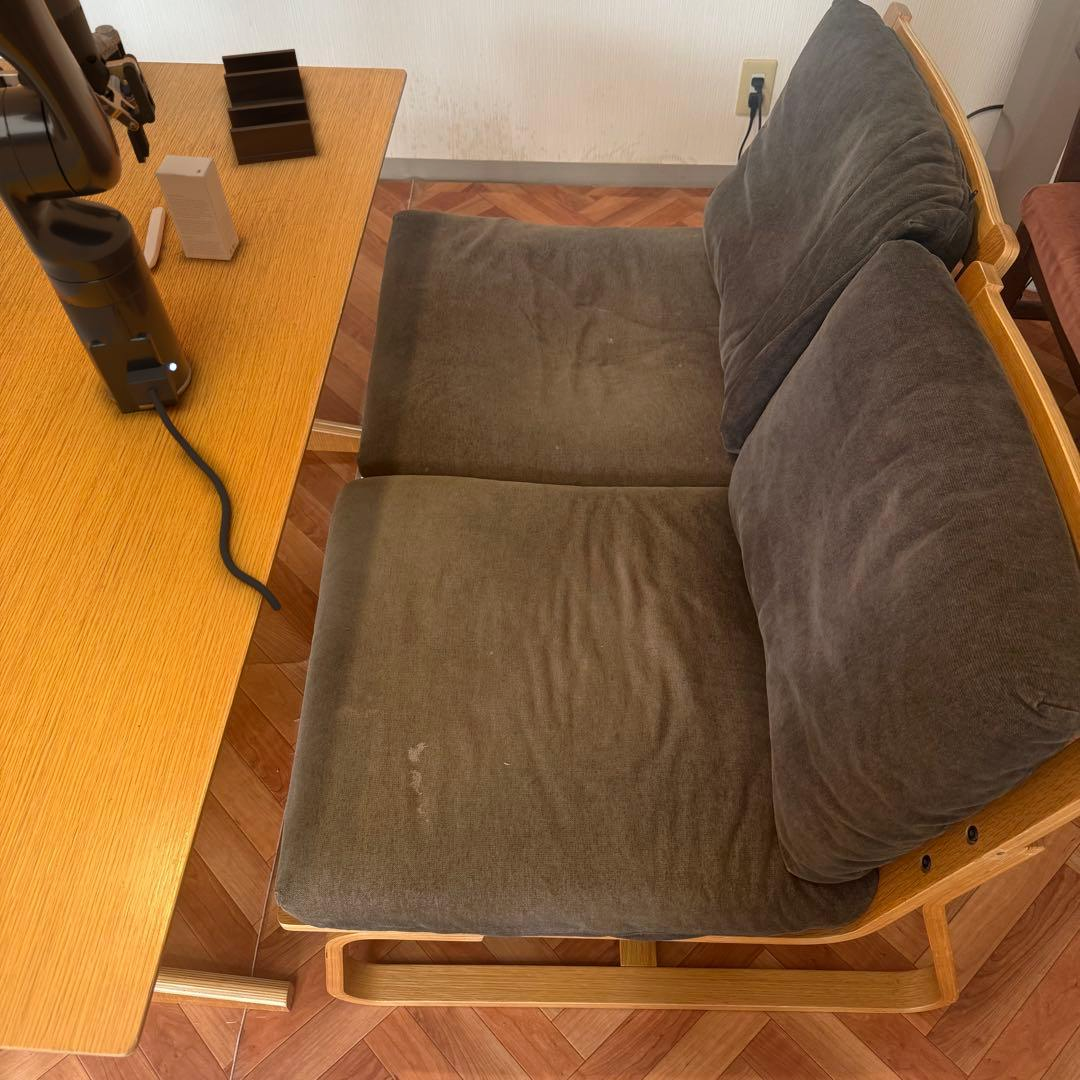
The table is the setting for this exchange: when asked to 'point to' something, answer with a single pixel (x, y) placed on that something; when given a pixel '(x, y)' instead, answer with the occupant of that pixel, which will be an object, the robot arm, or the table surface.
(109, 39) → the camera
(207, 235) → the cosmetic box
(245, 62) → the rack
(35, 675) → the table surface
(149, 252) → the pen
